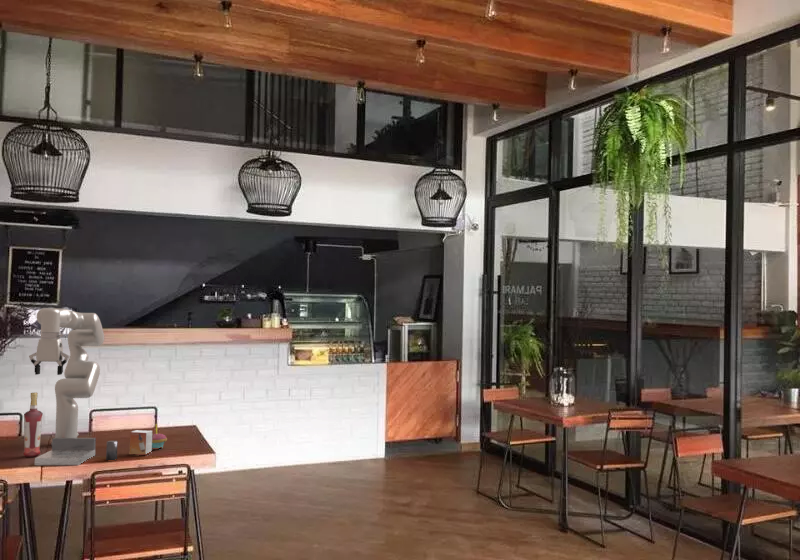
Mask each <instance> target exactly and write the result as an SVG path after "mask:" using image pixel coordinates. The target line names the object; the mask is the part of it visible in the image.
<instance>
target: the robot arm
mask: <svg viewBox="0 0 800 560" xmlns="http://www.w3.org/2000/svg"><path fill="white" fill-rule="evenodd" d="M36 320H37V322H38V324H39V325H40V339H38V343H37V347H36V352H34V353H32V354H30V355H28V358H29V360H30V362H31V364H33V366H34V375H35V376H37V375H40V374H41V365H40V364H42V362H43V363H45V362H47V363H48V362H56V363H57V370H56V371H57V373H56V375H58V376H60V375H62V374H63V373H64V374H63V375H64V377H65V378H60V379H59V380H57V381H56V382H55V385H54V394H55V400H56V403H55V404H56V405H55V406H56V407H55V408H56V409H55V411H56V413H55V436H54V438H78V436H79V435H80V434H79V432H78V425H79V424H78V421H79V420H78V418H79V406H78V404H77V402H76V401H75V399H88V398H91V397H92V396H93V395H94V393H95V390H96V387H97V384H98V380H99V378H100V374H101V373H100V371H101V368H100V365H99V363H98V362H96V361H89V354H88V353H87V351H86V350H85V349H84V348H83V347H98V346H102V345H103V344H104V341H105V332H104V330H103V325H102V322H101V319H100V317H99V316H98V314H97V313H95V312H77V311H73V310H69V309H67V308H54V307H52V308H50V307H48V308H46V307H45V308H41V309H39V310H38V311H37V312H36ZM60 328H62V329H63V328H65V329H69V330H70V331H69V332H68V334H67V343H68V344H67V345H68V349H69V355H68V354H66V353H65V352H64V350H63V349H64V347H63V341H62V339H60V338H63V335H64V334H63V333H61V332H60V330H61V329H60ZM35 357H36V358H35ZM63 358H64V359H63ZM66 363H67V364H66ZM65 364H66V366H65ZM64 366H65V369H64ZM51 446H52V442H51Z"/></svg>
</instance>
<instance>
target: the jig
mask: <svg viewBox="0 0 800 560" xmlns="http://www.w3.org/2000/svg"><path fill="white" fill-rule="evenodd" d="M51 439H52V440H51V443H52V445H51V450H49V451H47V452H45V453H43V454H39V455H38V456H36V457H34V466H81V465H82V464H83V462H84V461H85V462H87V461H88V460H87V459H89V458H90V459H92V458H94V457H95V456H96V442H97V441H96V437H77V438H55V437H53V438H51ZM93 456H94V457H93ZM91 457H92V458H91ZM90 459H89V460H90ZM86 460H87V461H86ZM85 462H84V463H85ZM81 463H82V464H81Z"/></svg>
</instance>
